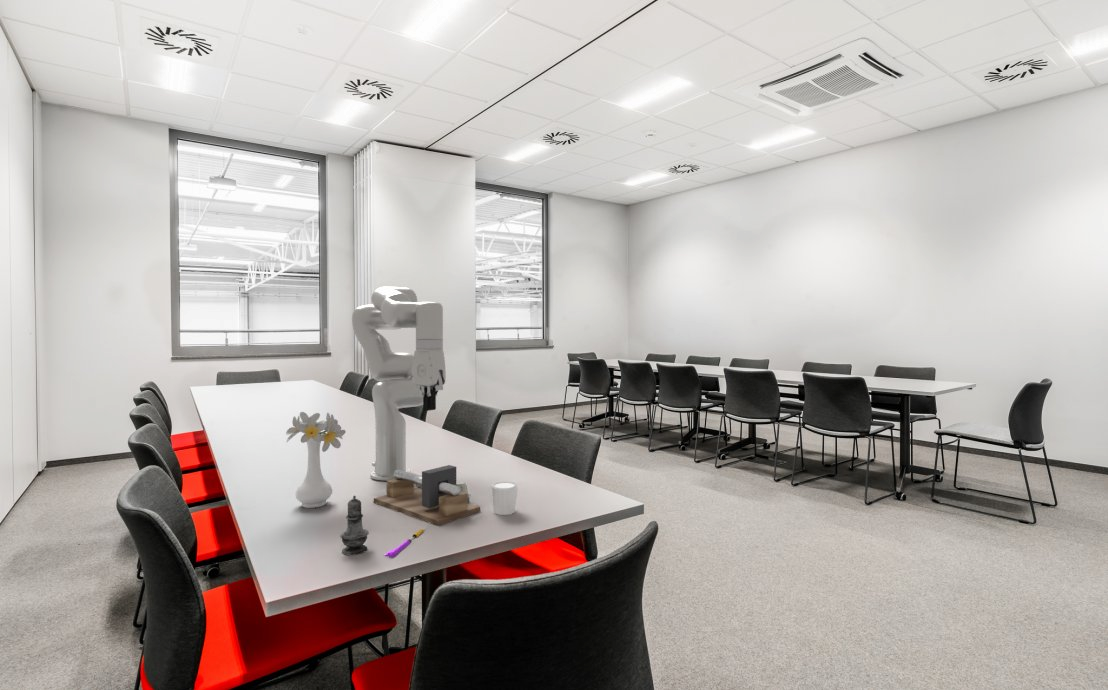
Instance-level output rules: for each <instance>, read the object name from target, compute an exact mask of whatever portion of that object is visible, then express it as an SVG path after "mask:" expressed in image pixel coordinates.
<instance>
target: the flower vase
mask: <svg viewBox="0 0 1108 690" xmlns="http://www.w3.org/2000/svg"><path fill="white" fill-rule="evenodd" d="M320 417H321V414H320V413H319V412H315V413H313V414H312V415H310V416H309V415H308V414H307V413H306V412H304V411H300V412H299V415H298V416H297V417H296V416H295V415H294V416H293V417H292V426H291V427H289V428H288V429H287V431H286V432H285V434H286V435H289V436H288V438H287V439H286V443H288V442H289V441H290V440H291V439H292V438H294V437H295V436H297V434H299V433H303V435H302V436H301V438H300V442H301V443H302V444H303V443H304V444H305V443H306V445H307V446H306V447H307V470H306V474H305V476H304V479H303V481H302V482H301V483H300V484H299V486H298V487H296V490H295V499H296V500H297V502H298V501H299V503H301V506H302V508H305V509H314V508H315V507H316V508H319V507H323V506H325V505H327V502H328V501H327V500H328V499H330V498H331V496H332V494H333V487H332V485H331V483H330V482H328V480H326V478H325V477H324V475H323V473H322V472H323V471H322V469H321V453H320V452H321V451H322V452H323V453H325V452H326V451H328V449H329V448H330V445H331V446H332V447H333V448H334V449H335V448H336V449H340V448H341V446H342V444H341V442H340V440H339V439H341V440H343V436H344V435H345V434H346V430H345V429H342V426H341V425H340V424H339V422H338V419H336V418H335V417H334V414H330V413H329V412H327V413H326V416H325V419H324V420H321V421H318V420H319V419H320ZM317 421H318V422H317ZM322 442H323V444H322V448H321V443H322ZM316 508H315V509H316Z"/></svg>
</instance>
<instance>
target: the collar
mask: <svg viewBox="0 0 1108 690" xmlns="http://www.w3.org/2000/svg"><path fill="white" fill-rule="evenodd" d="M421 476H422V488H421V489H422V506H423V507H426V508H432V507H436V506H439V497H440V496H444V495H447V493H444V492H440V491H438V482H441V481H442V482H445V483H449V484H452V485H456V483H457V466H455V465H451V464H448V465H444V466H439V467H436V468H431V469H426V470H423V471H421Z"/></svg>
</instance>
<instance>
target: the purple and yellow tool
mask: <svg viewBox="0 0 1108 690" xmlns="http://www.w3.org/2000/svg"><path fill="white" fill-rule="evenodd" d="M424 532H425V529H418V531H416V532H414V534H412V538H410V539H408V538H407V540H405V541H404V542H403V543H402V544H400V545H399V546H398V547H396V548H393V549H391V550H390V551H387V552H385V553H386V555H385V556H384V557H388V558H389V557H392V558H393V556H394V557H395V556H396V554H397V553H398V554H399V553H400V552H401V551H402V550H403V549H405V548H406V547H407V546H408V545H410V543H412V540H414V539H415V538H418V537H419V536H420V535H422V534H423V533H424ZM421 533H422V534H421ZM414 535H415V536H414ZM404 547H405V548H404ZM398 554H397V555H398Z"/></svg>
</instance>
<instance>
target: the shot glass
mask: <svg viewBox="0 0 1108 690" xmlns="http://www.w3.org/2000/svg"><path fill="white" fill-rule="evenodd" d="M490 487H491V496H492V507H493V508H492V509H493V514H495V515H499V516H509V515H512V513H513V514H515V513H516V505H517V496H518V495H517V493H518V484H517V483H515V482H509V481H502V482H501V481H500V482H495V483H493V484H491V486H490Z"/></svg>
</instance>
